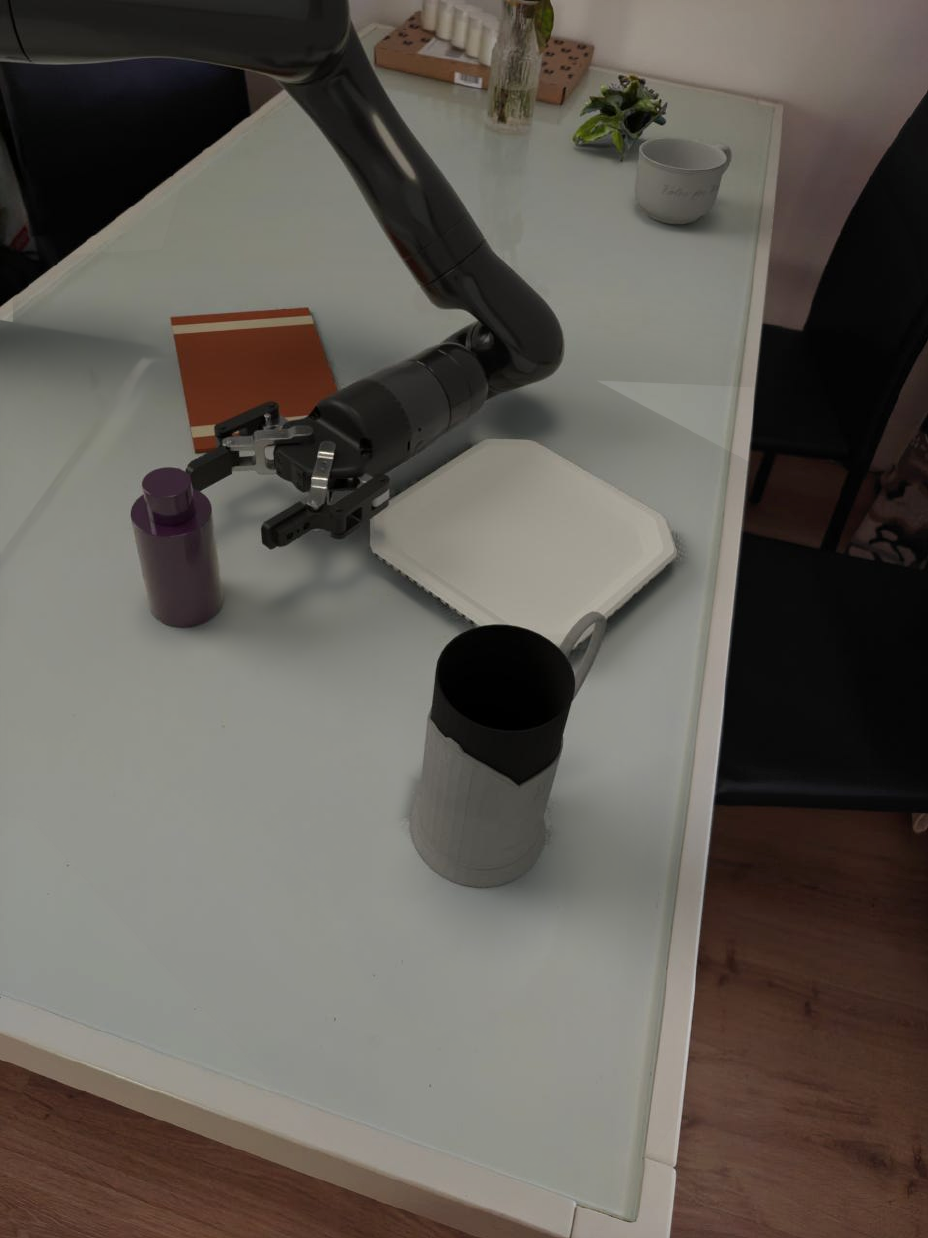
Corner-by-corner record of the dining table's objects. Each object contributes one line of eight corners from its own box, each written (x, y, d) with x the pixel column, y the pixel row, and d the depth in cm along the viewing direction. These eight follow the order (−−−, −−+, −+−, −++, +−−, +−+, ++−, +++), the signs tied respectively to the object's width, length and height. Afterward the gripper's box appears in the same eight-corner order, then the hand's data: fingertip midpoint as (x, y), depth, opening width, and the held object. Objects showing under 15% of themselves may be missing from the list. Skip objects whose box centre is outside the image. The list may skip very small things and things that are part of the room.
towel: (171, 320, 100) (170, 316, 100) (308, 310, 104) (308, 306, 104) (195, 453, 87) (194, 449, 86) (352, 436, 90) (352, 432, 90)
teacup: (655, 237, 123) (670, 172, 117) (611, 199, 129) (624, 135, 123) (746, 225, 127) (765, 162, 121) (700, 188, 134) (716, 127, 128)
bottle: (137, 620, 73) (111, 500, 65) (165, 570, 77) (143, 450, 68) (209, 633, 73) (191, 514, 64) (232, 582, 76) (219, 464, 68)
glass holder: (381, 825, 63) (389, 674, 52) (522, 702, 71) (555, 548, 60) (484, 915, 59) (516, 773, 49) (621, 775, 67) (675, 626, 56)
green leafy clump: (612, 177, 147) (671, 106, 142) (627, 195, 138) (690, 121, 133) (556, 125, 142) (615, 50, 137) (568, 140, 133) (631, 61, 128)
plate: (342, 547, 80) (342, 527, 78) (503, 442, 92) (506, 422, 90) (542, 689, 72) (547, 669, 70) (692, 553, 83) (699, 534, 82)
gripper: (321, 344, 82) (158, 423, 73) (450, 422, 76) (289, 518, 67) (322, 419, 87) (170, 501, 78) (442, 498, 81) (293, 595, 72)
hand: (226, 509), depth 72 cm, fingers open, 8 cm apart
